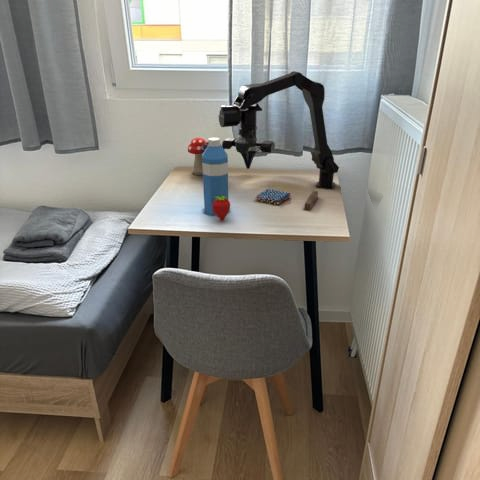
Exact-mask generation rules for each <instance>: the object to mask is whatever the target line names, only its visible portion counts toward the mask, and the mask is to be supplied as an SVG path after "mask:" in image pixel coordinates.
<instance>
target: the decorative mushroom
mask: <svg viewBox="0 0 480 480" xmlns="http://www.w3.org/2000/svg"><path fill="white" fill-rule="evenodd" d="M206 142H207V141H206V139H204V138H202V137H195V138H192V139H191V140H190V141H189V144H188V147H187V153H189V154H192V155H194V161H193V168H192V173H193V174H194V175H195V176H203V168H202V153H201V152H200V147H202V146H203V145H204V143H206Z"/></svg>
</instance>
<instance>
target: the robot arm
mask: <svg viewBox="0 0 480 480" xmlns="http://www.w3.org/2000/svg"><path fill="white" fill-rule="evenodd" d="M294 86H295V87H296V88H297V89H299V90H300V91H301V92H302V96H303V100H304V101H305V103H306V105H307V108H308V109H309V116H310V121H311V127H312V134H313V140H314V147H313V149H312V150H310V154H311V161H312V162H313V163H314V164H315V167H316V169H318V170H319V174H318V182H317V184H316V185H315V187H316V188H326V189H333V188H334V186H335V184H336V183H335V182H334V175H335V174H337V173H338V172H339V169H340V166H339V165H338V164H337V163H336V162H335V158H334V155H333V152H332V150H331V148H330V146H329V144H328V139H327V132H326V125H325V124H326V123H325V117H324V110H323V105H324V102H325V97H326V96H325V94H326V93H325V92H326V91H325V90H326V89H325V85H324V84H322V83H321V82H318V81H314V80H312V79H310V78H308V77H307V76H305V75H304V74H302V73H301V72H299V71H295V70H293V71H291V72H289V73H286V74H284V75H281V76H278V77H275V78H272V79H270V80H267V81H264V82H261V83H249V84H244V85H242V86H240V87H239V90H238V94H237V96H236V97H235V99H234V101H233V103H232V104H231V105H221V106H220V110H219V114H218V123H219V126H220V127H221V128H228V127H238V126H239V125H240V127H239V131H238V135H237V137H227V138H225V139H223V141H222V142H221V146H222V148H223V149H224V150H230V149H232V148H233V147H235V151H236V152H237V153H239V154H240V155H241V157H242V159H243V162H244V165H245V167H246V169H247V170H249V169H250V168H251V165H252V163H253V160H254V158H255V156H256V154H257V153H258V152H260V151H261V152H262V153H269V154H270V153H272V152H273V151H274V150H275V148H276V143H275V141H273V140H263V141H262V142H257V141H258V138H257V130H258V126H257V112H262V111H263V108H262V107H261V106H260V104H259V103H260V102H261V101H263V100H264V99H265V98H266V97H268V96H270V95H273V94H275V93H276V94H277V93H278V92H281V91H284V90H287V89H289V88H291V87H294Z"/></svg>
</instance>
